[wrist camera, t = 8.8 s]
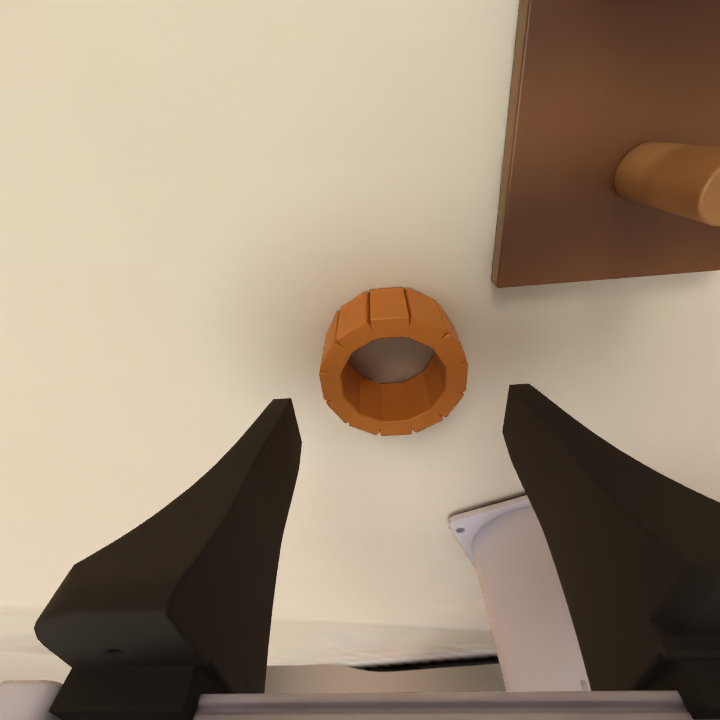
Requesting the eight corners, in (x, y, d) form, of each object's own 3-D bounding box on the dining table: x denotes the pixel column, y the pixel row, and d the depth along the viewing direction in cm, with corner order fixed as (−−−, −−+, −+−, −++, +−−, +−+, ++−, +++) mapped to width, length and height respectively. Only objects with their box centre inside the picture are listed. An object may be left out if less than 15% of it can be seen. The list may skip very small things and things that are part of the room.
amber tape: (456, 281, 14) (472, 311, 12) (451, 392, 17) (463, 432, 15) (317, 293, 15) (309, 323, 13) (335, 399, 18) (331, 439, 15)
